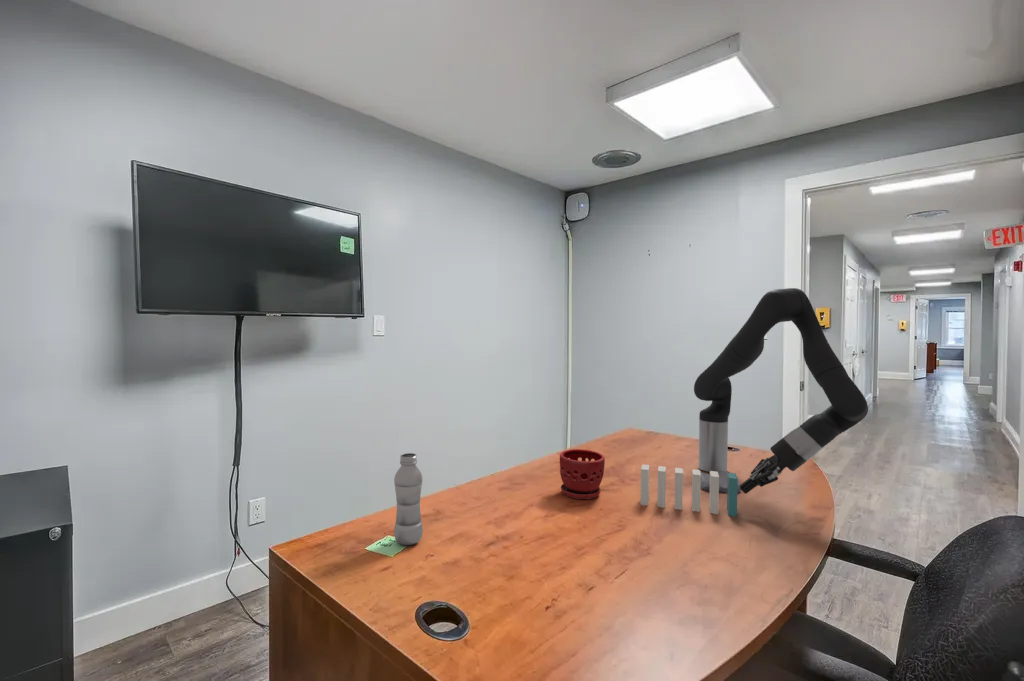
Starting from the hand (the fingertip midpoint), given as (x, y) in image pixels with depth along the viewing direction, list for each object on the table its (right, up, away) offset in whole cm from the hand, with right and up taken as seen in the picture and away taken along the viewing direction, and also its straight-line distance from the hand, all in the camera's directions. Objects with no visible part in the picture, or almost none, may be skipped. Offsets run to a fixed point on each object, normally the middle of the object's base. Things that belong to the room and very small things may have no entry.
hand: (742, 490), depth 129 cm
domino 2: (-19, -6, +7) cm, 21 cm away
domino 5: (-7, -6, +2) cm, 9 cm away
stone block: (+3, -6, +21) cm, 22 cm away
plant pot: (-41, -6, +14) cm, 43 cm away
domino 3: (-15, -6, +5) cm, 17 cm away
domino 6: (-2, -6, +1) cm, 7 cm away
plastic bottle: (-85, -7, -18) cm, 87 cm away
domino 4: (-11, -6, +4) cm, 13 cm away
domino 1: (-24, -6, +8) cm, 26 cm away
